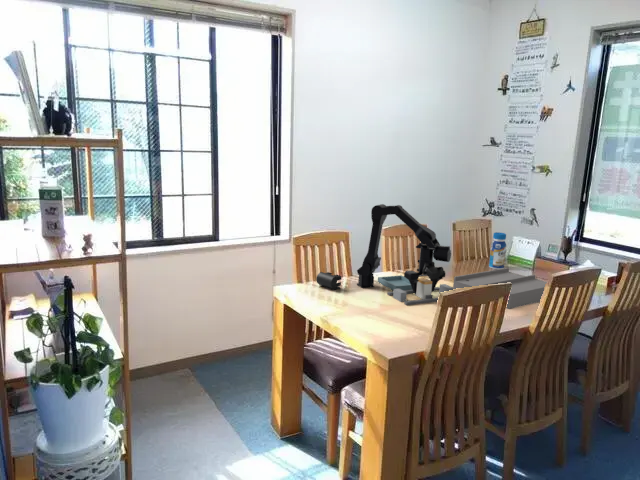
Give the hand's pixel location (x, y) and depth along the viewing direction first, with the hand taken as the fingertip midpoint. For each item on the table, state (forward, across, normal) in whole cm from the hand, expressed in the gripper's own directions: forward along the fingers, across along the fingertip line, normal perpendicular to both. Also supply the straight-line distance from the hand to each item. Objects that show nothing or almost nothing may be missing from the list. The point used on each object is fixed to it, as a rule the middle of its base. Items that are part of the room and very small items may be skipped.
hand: (423, 292), depth 225 cm
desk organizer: (+3, +43, -7) cm, 44 cm away
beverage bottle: (+2, +74, +34) cm, 81 cm away
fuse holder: (+2, 0, 0) cm, 2 cm away
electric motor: (+2, -35, +26) cm, 44 cm away
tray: (+2, -1, +19) cm, 19 cm away
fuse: (+2, 0, 0) cm, 2 cm away
